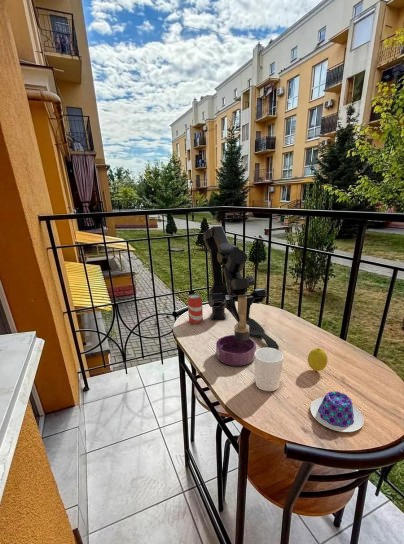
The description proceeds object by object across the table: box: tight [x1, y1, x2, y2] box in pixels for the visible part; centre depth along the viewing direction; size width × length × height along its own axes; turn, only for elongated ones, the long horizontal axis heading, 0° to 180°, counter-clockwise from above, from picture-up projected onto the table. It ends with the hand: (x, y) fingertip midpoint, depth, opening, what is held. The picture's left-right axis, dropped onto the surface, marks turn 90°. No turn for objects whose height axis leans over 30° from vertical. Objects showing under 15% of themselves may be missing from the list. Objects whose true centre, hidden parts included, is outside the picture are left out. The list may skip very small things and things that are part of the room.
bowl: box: [215, 334, 257, 367], centre depth 95 cm, size 13×13×5 cm
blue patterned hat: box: [309, 391, 365, 433], centre depth 68 cm, size 12×12×5 cm
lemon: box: [307, 347, 328, 372], centre depth 86 cm, size 6×6×8 cm
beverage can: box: [187, 293, 204, 325], centre depth 123 cm, size 6×6×12 cm
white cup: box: [254, 347, 284, 392], centre depth 80 cm, size 8×8×10 cm
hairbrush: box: [246, 316, 280, 351], centre depth 109 cm, size 8×4×25 cm
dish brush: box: [233, 296, 250, 341], centre depth 92 cm, size 5×5×15 cm
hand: (243, 321), depth 91 cm, fingers closed on dish brush, 3 cm apart
